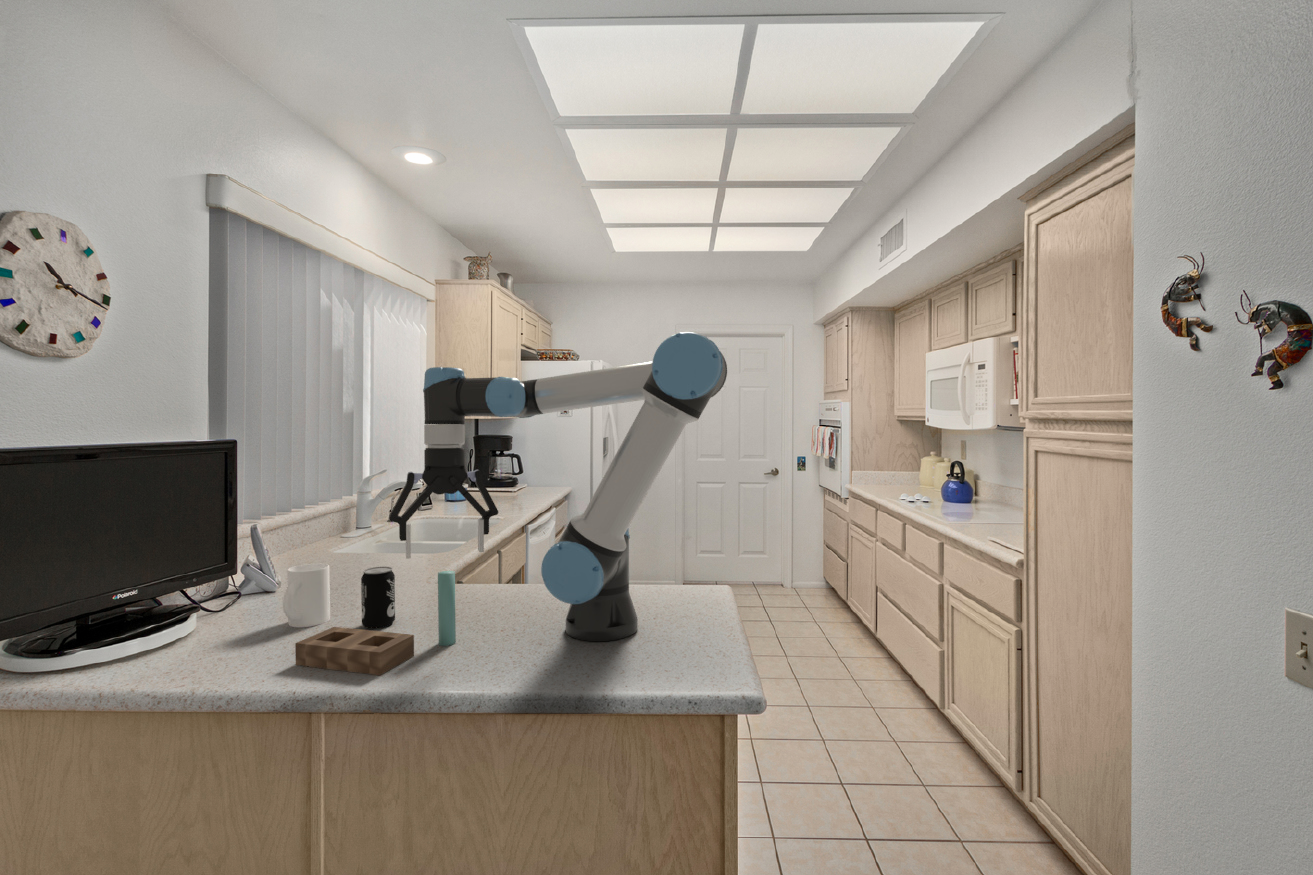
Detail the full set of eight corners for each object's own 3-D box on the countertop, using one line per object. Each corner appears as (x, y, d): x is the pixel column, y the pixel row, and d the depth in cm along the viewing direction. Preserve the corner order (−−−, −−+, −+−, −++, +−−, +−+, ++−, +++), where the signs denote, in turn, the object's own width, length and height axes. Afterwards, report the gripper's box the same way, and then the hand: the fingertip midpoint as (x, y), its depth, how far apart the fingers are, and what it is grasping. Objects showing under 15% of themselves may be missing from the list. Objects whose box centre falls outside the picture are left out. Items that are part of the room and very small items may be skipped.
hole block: (414, 655, 113) (413, 634, 112) (380, 675, 104) (380, 652, 104) (334, 647, 117) (334, 626, 117) (295, 665, 108) (295, 643, 108)
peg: (459, 640, 120) (458, 571, 120) (449, 646, 117) (448, 575, 117) (444, 639, 121) (444, 570, 121) (435, 645, 118) (434, 574, 118)
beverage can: (382, 630, 127) (381, 573, 126) (354, 628, 128) (354, 572, 128) (401, 620, 133) (400, 566, 133) (375, 618, 134) (374, 565, 134)
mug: (265, 633, 125) (264, 576, 125) (302, 615, 137) (301, 563, 137) (304, 634, 125) (303, 576, 124) (337, 616, 137) (336, 563, 136)
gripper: (505, 445, 127) (505, 545, 128) (374, 446, 117) (375, 555, 117) (512, 446, 120) (512, 551, 121) (374, 448, 110) (375, 564, 110)
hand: (445, 554), depth 119 cm, fingers open, 13 cm apart
